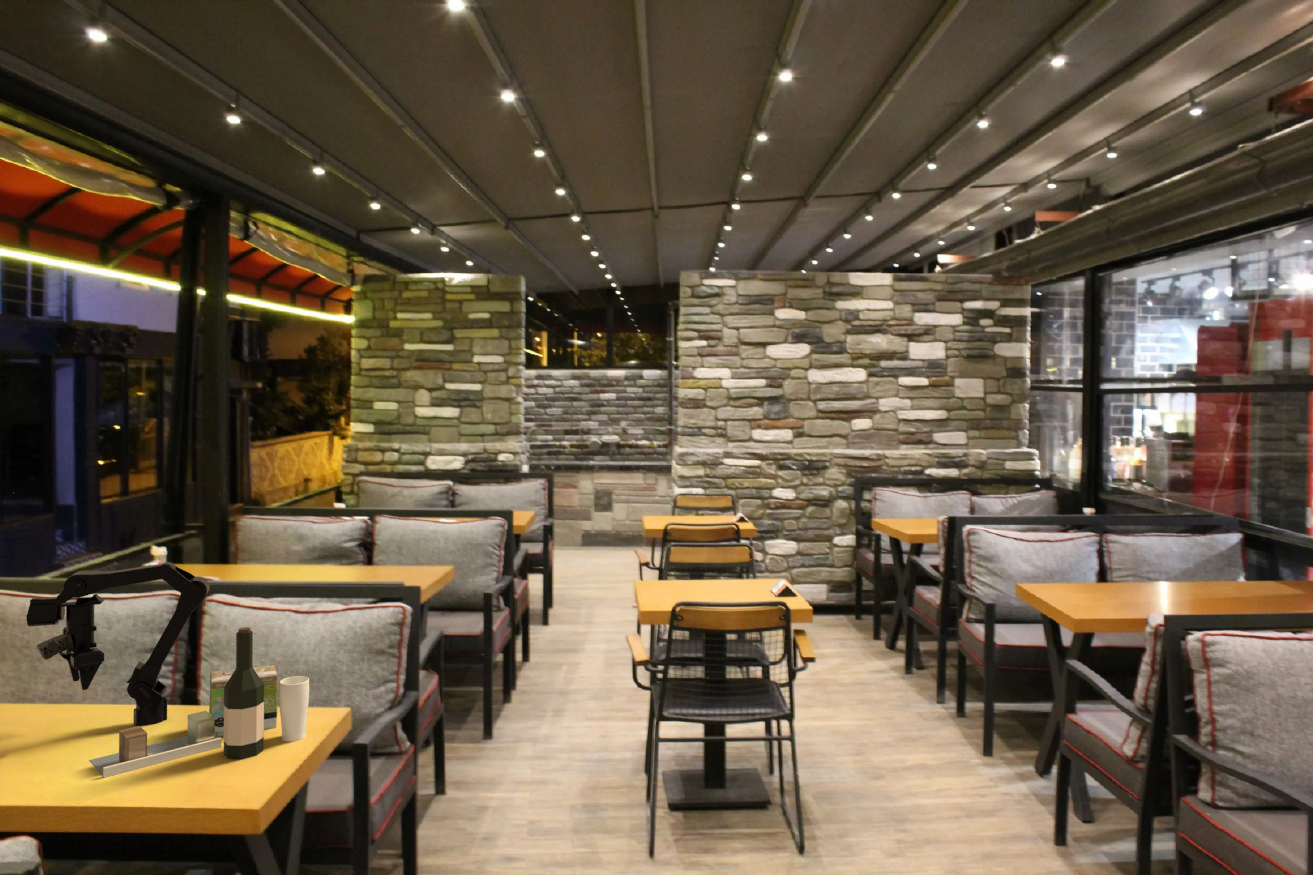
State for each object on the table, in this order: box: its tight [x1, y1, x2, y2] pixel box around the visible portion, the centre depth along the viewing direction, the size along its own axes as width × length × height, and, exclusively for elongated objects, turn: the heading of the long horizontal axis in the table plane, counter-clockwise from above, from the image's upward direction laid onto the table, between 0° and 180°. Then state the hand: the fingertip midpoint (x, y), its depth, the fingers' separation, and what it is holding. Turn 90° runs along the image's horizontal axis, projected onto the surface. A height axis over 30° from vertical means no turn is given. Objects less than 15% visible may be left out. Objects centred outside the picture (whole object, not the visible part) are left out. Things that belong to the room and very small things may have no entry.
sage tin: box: [187, 710, 216, 745], centre depth 192 cm, size 6×4×7 cm, turn 47°
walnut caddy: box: [118, 726, 148, 763], centre depth 182 cm, size 6×4×7 cm, turn 47°
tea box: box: [208, 664, 279, 738], centre depth 204 cm, size 15×10×15 cm, turn 120°
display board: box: [88, 735, 222, 779], centre depth 187 cm, size 24×13×3 cm, turn 137°
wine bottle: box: [223, 626, 265, 761], centre depth 188 cm, size 8×8×30 cm
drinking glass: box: [278, 675, 310, 743], centre depth 198 cm, size 7×7×15 cm
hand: (80, 685), depth 201 cm, fingers open, 9 cm apart
